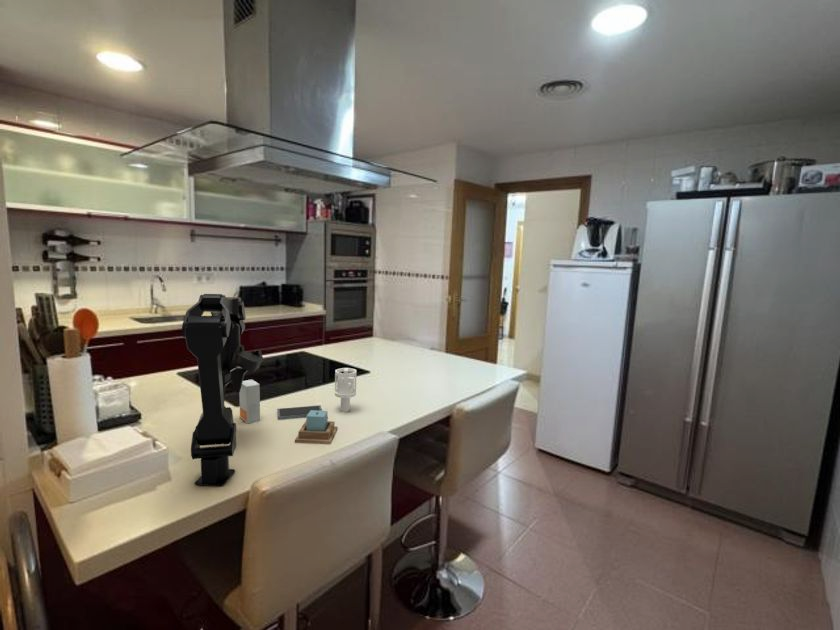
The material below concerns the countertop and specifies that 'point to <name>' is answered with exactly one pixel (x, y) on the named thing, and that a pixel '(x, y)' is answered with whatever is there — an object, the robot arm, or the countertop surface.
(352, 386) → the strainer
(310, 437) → the dock
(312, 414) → the blue drawer box
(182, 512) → the countertop surface
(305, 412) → the phone
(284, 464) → the countertop surface
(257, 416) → the skincare box
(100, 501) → the countertop surface
